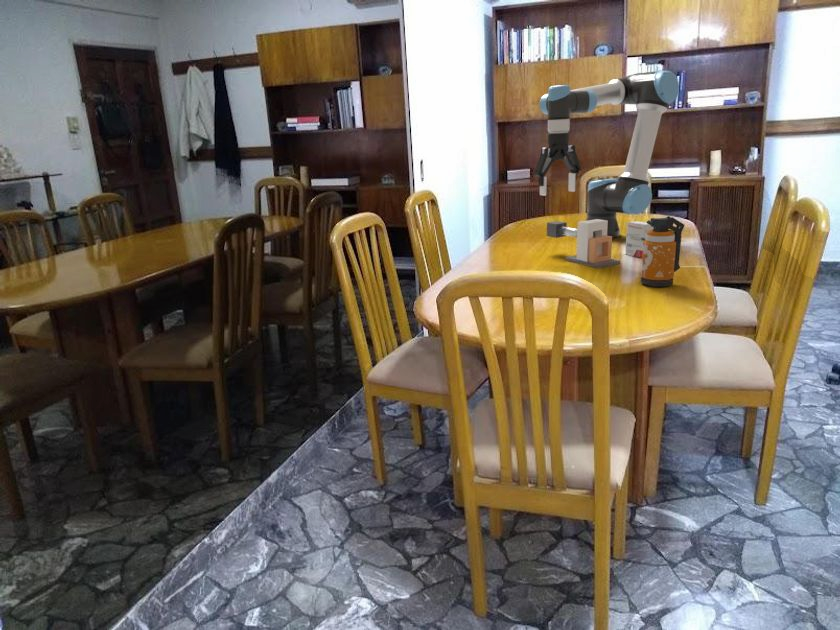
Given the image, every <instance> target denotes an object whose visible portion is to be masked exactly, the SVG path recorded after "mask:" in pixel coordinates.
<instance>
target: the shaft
mask: <svg viewBox="0 0 840 630" xmlns="http://www.w3.org/2000/svg"><path fill="white" fill-rule="evenodd" d="M567 223H568V222H567V221H566V222H564V221H561V220H560V221H559V220H555V221H550V222H549V221H548V222H546V237H551V238H555V239H558V238H563V237H573V238H577V228H575V227H571V226H570V227H569V226H567ZM595 236H596V234H595V232H593V238H595Z"/></svg>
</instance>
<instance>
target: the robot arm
mask: <svg viewBox="0 0 840 630" xmlns="http://www.w3.org/2000/svg"><path fill="white" fill-rule="evenodd" d="M679 85H680V84H679V80H678V77H677V76H676V74H675V73H674V72H673V71H670V70H660V69H659V70H656V71H649V72H648V71H646V72H637V73H633V74H630V75H626V76H623V77H620V78H616V79H612V80H610V81H609V82H608V83H604V84H597V85H592V86H586V87H581V88H576V89H571V86H570V85H568V84H567V85H566V84H565V85H564V84H563V85H561V84H560V85H551V86H549V88H548V93H545V94H544V95H542V96H541V98H540V100H539V110H540V111H541V112H542V113H543V115H547V132H548V134H547V144H548V147H542V148H541V149H540V155H539V157H538V159H537V163H536V166H535V168H534V171H533V175H534V176H536V177H538V183H537V184H538V187H539V196H543V197H545V196H547V182H548V181H547V178H548V177H547V176H546V174H547V172H549V170H550V168H551V166H552V165H553V163H554V162H555V161H559V160H562V161H563V163H564V164H565V166H566V167H567V168H568V170H569V173H568V185H567V186H568V189H567V190H568V192H572V193H574V192H576V182H577V176H578V175H577V174H579V173H580V171H581V170H582V165H581V163H580V160H579V157H578V155H577V152H576V146H575V145H573V144H571V145H569V143H570V133H569V132H570V129H571V128H570V124H571V122H570V121H571V114H573V115H575V114H587V113H592V112H594V111H595V109H596V108H597V107H599V106H603V105H609V104H611V105H612V106H618V105H635V107H636V109H637V111H638V113H637V117H636V121H635V124H634V125H635V126H634V129H633V133H632V136H631V141H630V145H629V150H628V153H627V157H626V162H625V167H624V171H623V173H621V175H619V176H618V177H617V178H608V179H599V180H592V181H589V182H588V185H587V187H588V188H587V199H586V200H587V205H586V206H587V207H586V209H587V211H586V213H587V214H586V218H585V221H588V220H594V219H600V220H607V221H608V226H607V236H612V239H613V238H618V237H620V235H621V234H620V233H621V232H620V231H621V229H620V226H619V223H618V220H617V219H618V218H617V213H618V214H619V213H620V214H625V215H640V214H642V213H643V212H644V211H646V210H647V209H648V208H649V206H650V204H651V203H652V199H653V193H652V188H651V186H649V183H650V181H649V179H648V178H647V174H648V172H649V171H648V170H649V166H650V164H651V158H652V155H653V151H654V148H655V147H654V146H655V142H656V139H657V134H658V130H659V127H660V123H661V120H662V119H661V118H662V116H663V115H662V114H664V113H665V112H667V111H668V109H669V104H671V103H674V102H675V100H677V97H678V95H679V92H680V86H679Z"/></svg>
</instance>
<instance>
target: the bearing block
mask: <svg viewBox="0 0 840 630" xmlns="http://www.w3.org/2000/svg"><path fill="white" fill-rule="evenodd" d="M607 226H608V221H607V220H600V219H594V220H588V221H586V220H584V221H577V228H576V229H577V237H576V255H570V256H566V257H564V260H565V261H567V262H571V263H577V264H580V265H585V266H588V267H593V268H597V269H601V268H605V267H610V266H615V265H619V264H621V260H618V259H614V258H611V260H606V261H601V262H596V263H592V262H589V239H590V238H593V232H595V234H596V236H595V237H601V236H607ZM599 255H603V243H598V253H597V256H599Z"/></svg>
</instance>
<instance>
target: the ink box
mask: <svg viewBox="0 0 840 630" xmlns="http://www.w3.org/2000/svg"><path fill="white" fill-rule="evenodd" d="M652 229H654V227H651V225H650V224H647V222H644V221H638V220H637V221H636V220H635V221H628V222H626V238H625V251H624V252H625V253H624V254H625V255H626V254H627V256H631V257H636V258H639V259H642V254H643V242H644V241H645V239H646V233H647V231H648V230H652Z"/></svg>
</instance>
